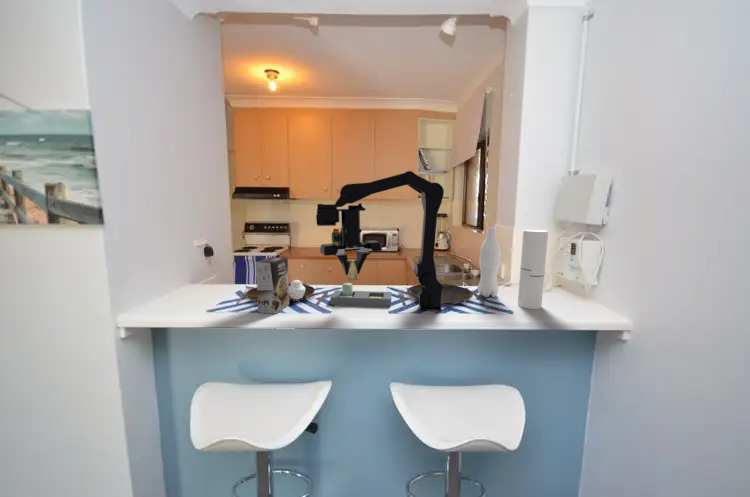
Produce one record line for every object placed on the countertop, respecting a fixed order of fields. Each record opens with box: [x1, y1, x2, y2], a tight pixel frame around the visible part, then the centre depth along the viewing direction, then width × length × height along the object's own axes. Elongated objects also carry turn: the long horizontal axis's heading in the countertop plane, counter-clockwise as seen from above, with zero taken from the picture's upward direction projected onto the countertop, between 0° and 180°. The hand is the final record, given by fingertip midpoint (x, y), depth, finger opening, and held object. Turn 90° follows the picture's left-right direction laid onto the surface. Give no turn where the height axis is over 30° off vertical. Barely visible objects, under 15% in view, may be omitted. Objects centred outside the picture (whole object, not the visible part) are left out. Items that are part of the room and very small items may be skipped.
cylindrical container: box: [517, 229, 549, 310], centre depth 105 cm, size 7×7×25 cm
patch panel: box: [329, 290, 392, 307], centre depth 109 cm, size 20×8×3 cm, turn 85°
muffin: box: [289, 279, 306, 299], centre depth 111 cm, size 6×6×7 cm
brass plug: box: [346, 259, 359, 281], centre depth 102 cm, size 4×4×6 cm
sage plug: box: [341, 282, 354, 297], centre depth 110 cm, size 4×4×6 cm
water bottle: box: [477, 226, 502, 298], centre depth 115 cm, size 7×7×25 cm
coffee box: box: [255, 256, 290, 315], centre depth 101 cm, size 9×6×16 cm
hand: (352, 274), depth 102 cm, fingers closed on brass plug, 3 cm apart
